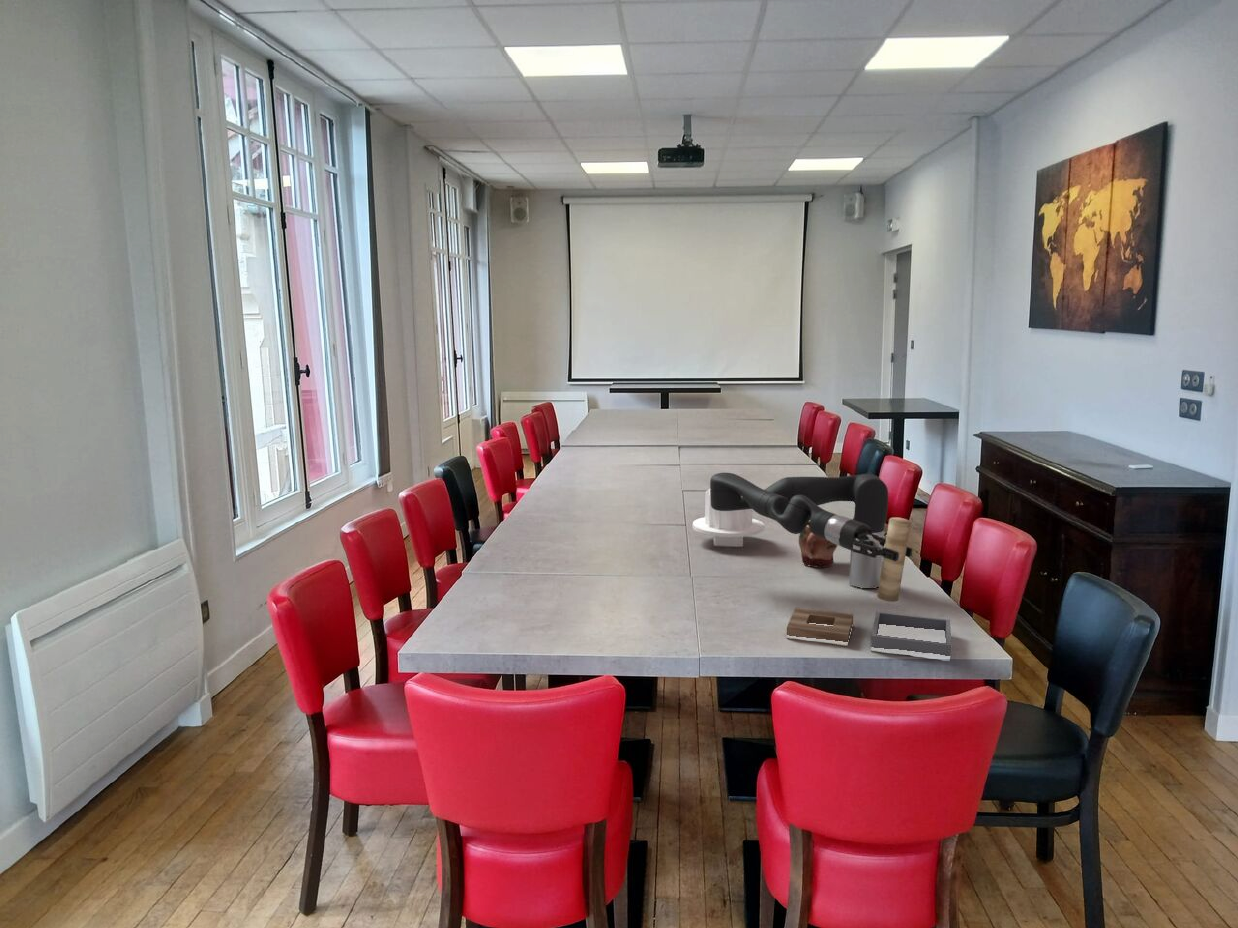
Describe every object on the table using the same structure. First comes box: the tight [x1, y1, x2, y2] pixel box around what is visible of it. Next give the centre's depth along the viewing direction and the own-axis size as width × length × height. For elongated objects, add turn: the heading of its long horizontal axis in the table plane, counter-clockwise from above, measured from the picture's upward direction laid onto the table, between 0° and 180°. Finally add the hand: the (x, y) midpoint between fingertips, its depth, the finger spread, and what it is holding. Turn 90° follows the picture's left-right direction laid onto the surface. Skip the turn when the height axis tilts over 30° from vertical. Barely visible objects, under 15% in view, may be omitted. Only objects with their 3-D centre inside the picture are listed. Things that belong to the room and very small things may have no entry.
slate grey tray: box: [870, 610, 952, 657], centre depth 212 cm, size 18×18×4 cm
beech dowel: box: [876, 517, 912, 603], centre depth 208 cm, size 5×5×20 cm
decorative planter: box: [798, 521, 838, 568], centre depth 275 cm, size 20×12×14 cm, turn 154°
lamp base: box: [692, 488, 765, 548], centre depth 301 cm, size 25×25×19 cm
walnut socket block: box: [786, 607, 855, 642], centre depth 219 cm, size 15×15×3 cm
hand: (904, 554), depth 206 cm, fingers closed on beech dowel, 5 cm apart
